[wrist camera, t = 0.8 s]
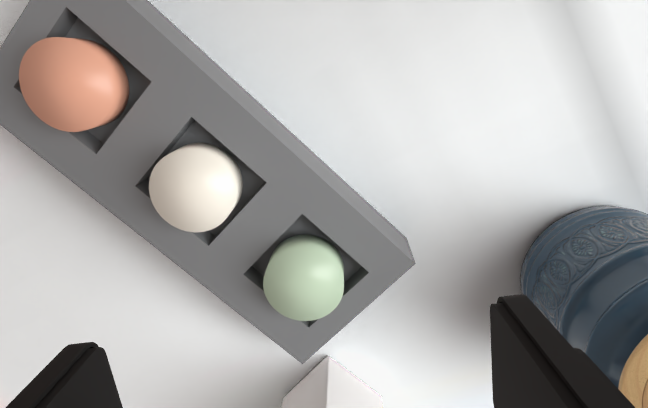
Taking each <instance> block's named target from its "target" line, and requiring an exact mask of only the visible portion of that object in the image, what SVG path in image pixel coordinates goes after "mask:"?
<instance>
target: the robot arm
mask: <svg viewBox="0 0 648 408" xmlns="http://www.w3.org/2000/svg"><path fill="white" fill-rule="evenodd" d="M490 322H491V353H492V383H493V403H494V408H635V407H634V405H633V404H632V403H631V402H630V401H629V400H628V399H627V398H626V397H625V396H624V395H623V394H622V392H621V391H620V390H619V389H618V388H617V387H616V386H615V385H614V384H613V383H612V382H611V381H610V379H609V378H608V377H607V376H606V375H605V374H604V373H603V372H602V371H601V370H600V369H599V368H598V366H597V365H596V364H595V363H594V362H593V361H592V360H591V359H590V358H589V357H588V356H587V355H586V353H584V352H583V351H582V350H581V349H579V348H573V347H572V346H571V345H570V344H569V343H568V341H567V340H566V339H565V338H564V337H563V336H562V335H561V334H560V333H559V331H558V330H557V329H556V328H555V327H554V326H553V325H552V324H551V323H550V321H549V320H548V319H547V318H546V317H545V316H544V315H543V314H542V313H541V311H540V310H539V309H538V308H537V307H536V306H535V305H534V304H533V303H532V301H531V300H530V299H529V298H528V297H527V296H526V295H525V294H522V295H513V296H504V297H499V298H498V301H497V304H491V307H490ZM6 408H123V407H122V404H121V401H120V398H119V394H118V391H117V388H116V385H115V381H114V378H113V375H112V372H111V368H110V365H109V362H108V359H107V355H106V352H105V350H104V349H103V348H101V347H98V345H97V344H96V343H94V342H88V343H79V344H71V345H68V346H66V347H65V348H64V349H63V350H62V351H61V352H60V353H59V354H58V355H57V356H56V357H55V358H54V359H53V360H52V361H51V362H50V363H49V364H48V365H47V366H46V367H45V368H44V369H43V370H42V371H41V372H40V373H39V374H38V375H37V376H36V377H35V378H34V379H33V380H32V381H31V382H30V383H29V384H28V385H27V386H26V387H25V388H24V389H23V390H22V391H21V392H20V393H19V394H18V395H17V396H16V398H15V399H14V400H13V401H12V402H11V403H10V404H9V405H8V406H7V407H6Z"/></svg>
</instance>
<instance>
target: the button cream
mask: <svg viewBox="0 0 648 408" xmlns="http://www.w3.org/2000/svg"><path fill="white" fill-rule="evenodd" d="M242 189H243V180H242V175H241V172H240V169H239V167H238V165H237V163H236V162H235V161H234V159H233V158H232V157H231V156H230V155H229V154H228V153H227V152H226V151H224V150H223V149H221V148H219V147H217V146H215V145H212V144H209V143H199V142H198V143H191V144H187V145H185V146H182V147H181V148H179V149H177V150H175V151H173V152H171V153H170V154H168V155H166V156H164V157H163V158H162V159H161V160H160V161H159V162H158V163H157V164H156V165H155V167H154V169H153V171H152V173H151V176H150V180H149V194H150V198H151V201H152V204H153V206H154V207H155V209H156V211H157V212H158V214H159V215H160V216H161V217H162V218H163V219H164V220H165V221H166V222H168V223H169V224H170V225H172V226H174V227H176V228H178V229H180V230H184V231H188V232H204V231H209V230H211V229H214V228H216V227H217V226H219V225H220V224H222V223H223V222H224V221H225V220H226V218H227V217H228V216H229V214H230V213H231V212H232V210H233V209H234V208H235V206H236V205H237V203H238V201H239V200H240V197H241V194H242Z"/></svg>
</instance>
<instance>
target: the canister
mask: <svg viewBox="0 0 648 408" xmlns="http://www.w3.org/2000/svg"><path fill="white" fill-rule="evenodd" d="M520 282H521V291H522V294H525V295H526V296H527V297H528V298H529V299H530V300H531V301H532V303H533V304H534V305H535V306H536V307H537V308H538V309H539V310H540V311H541V313H542V314H543V315H544V316H545V317H546V318H547V319H548V320H549V321H550V323H551V324H552V325H553V326H554V327H555V328H556V329H557V330H558V331H559V333H560V334H561V335H562V336H563V337H564V338H565V339H566V340H567V341H568V343H569V344H570V345H571V346H572V347H573V348H579V349H581V350H582V351H583V352H584V353H586V355H587V356H588V357H589V358H590V359H591V360H592V361H593V362H594V363H595V364H596V365H597V366H598V368H599V369H600V370H601V371H602V372H603V373H604V374H605V375H606V376H607V377H608V378H609V379H610V381H611V382H612V383H613V384H614V385H615V386H616V387H617V388H618V389H619V390H620V391H621V392H622V394H623V395H624V396H625V397H626V398H627V399H628V400H629V401H630V402H631V403H632V404H633V405H634V407H635V408H648V214H646V213H643V212H640V211H637V210H633V209H627V208H622V207H616V206H596V207H590V208H585V209H582V210H578V211H576V212H573V213H571V214H568V215H566V216H564V217H562V218H561V219H559V220H557V221H556V222H554V223H553V224H551V225H550V226H549V227H548V228H547V229H545V230H544V231H543V232H542V233H541V234H540V235H539V236H538V238H537V239H536V240H535V241H534V243H533V244H532V246H531V247H530V249H529V250H528V252H527V254H526V257H525V259H524V262H523V265H522V270H521V278H520Z"/></svg>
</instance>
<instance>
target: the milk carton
mask: <svg viewBox="0 0 648 408" xmlns="http://www.w3.org/2000/svg"><path fill="white" fill-rule="evenodd" d="M281 408H383V402H382V396H381V395H380V394H379V393H377V392H376V391H375V390H373V389H372V388H371V387H369V386H368V385H367V384H365V383H364V382H363V381H361V380H360V379H359V378H358V377H356V376H355V375H354V374H352V373H351V372H350V371H348V370H347V369H346V368H344V367H343V366H342V365H340V364H339V363H338V362H336V361H335V360H334V359H332V358H331V357H330V356H327V357H326V358H325V359H324V360H323V361H322V362H320V363H319V364H318V365H317V366H316V367H315V368H314V369H313V370H312V371H311V372H310V373H309V374H308V375H307V376H306V377H305V378H304V379H303V380H301V381H300V382H299V383H298V384H297V385H296V386H295V387H294V388H293V389H292V390H291V391H290V392H289V393H288V394H287V395H286V396H285V397H284V398H283V402H282V407H281Z"/></svg>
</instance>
